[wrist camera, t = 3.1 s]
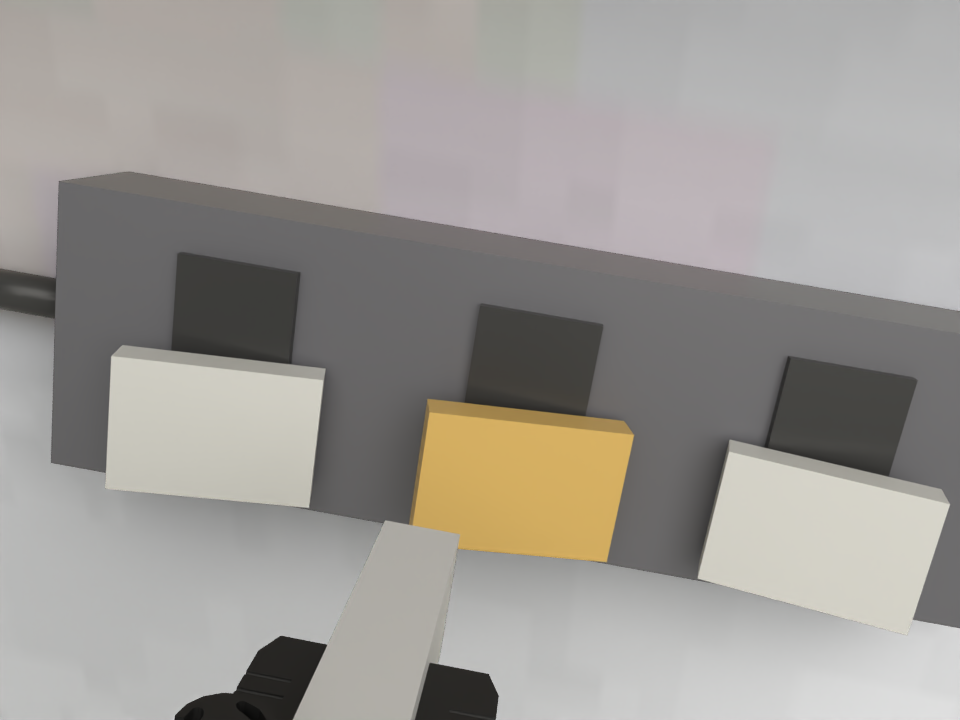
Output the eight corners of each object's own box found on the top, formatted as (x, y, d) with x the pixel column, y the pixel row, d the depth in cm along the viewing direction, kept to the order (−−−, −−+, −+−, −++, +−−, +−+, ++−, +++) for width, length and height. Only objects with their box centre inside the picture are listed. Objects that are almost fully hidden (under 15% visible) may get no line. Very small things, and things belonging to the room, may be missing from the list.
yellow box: (408, 526, 24) (409, 544, 23) (427, 398, 23) (429, 412, 22) (597, 543, 25) (606, 562, 24) (623, 421, 24) (634, 434, 23)
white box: (116, 472, 24) (105, 488, 23) (122, 344, 23) (111, 356, 22) (311, 491, 25) (308, 508, 24) (325, 368, 24) (323, 379, 23)
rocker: (699, 562, 25) (697, 578, 24) (729, 439, 24) (729, 451, 23) (900, 615, 24) (907, 635, 23) (941, 489, 23) (949, 504, 22)
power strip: (-60, 385, 30) (-159, 429, 26) (-62, 139, 28) (-170, 144, 24) (913, 560, 29) (973, 635, 25) (991, 316, 27) (1071, 354, 22)
